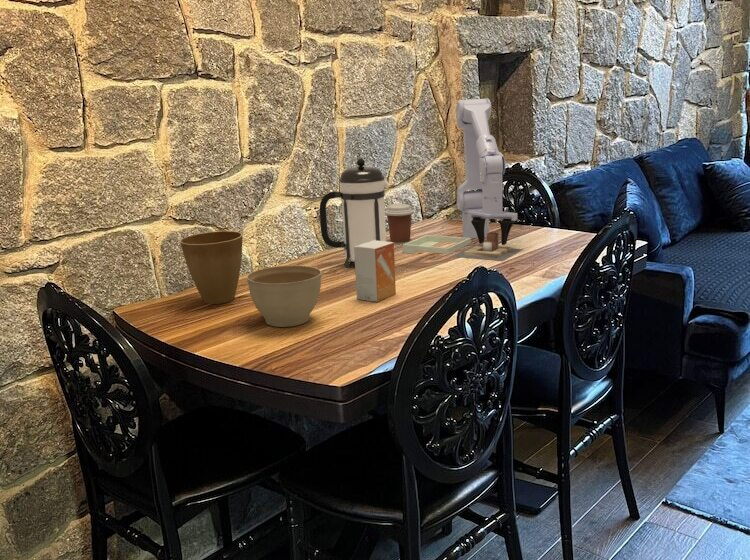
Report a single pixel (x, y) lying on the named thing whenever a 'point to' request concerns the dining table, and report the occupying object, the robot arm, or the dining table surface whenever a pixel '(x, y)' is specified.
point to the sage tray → (429, 240)
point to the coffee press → (358, 209)
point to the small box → (375, 270)
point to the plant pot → (214, 263)
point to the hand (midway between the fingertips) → (492, 243)
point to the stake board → (503, 257)
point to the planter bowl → (285, 293)
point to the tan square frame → (495, 248)
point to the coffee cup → (399, 223)
